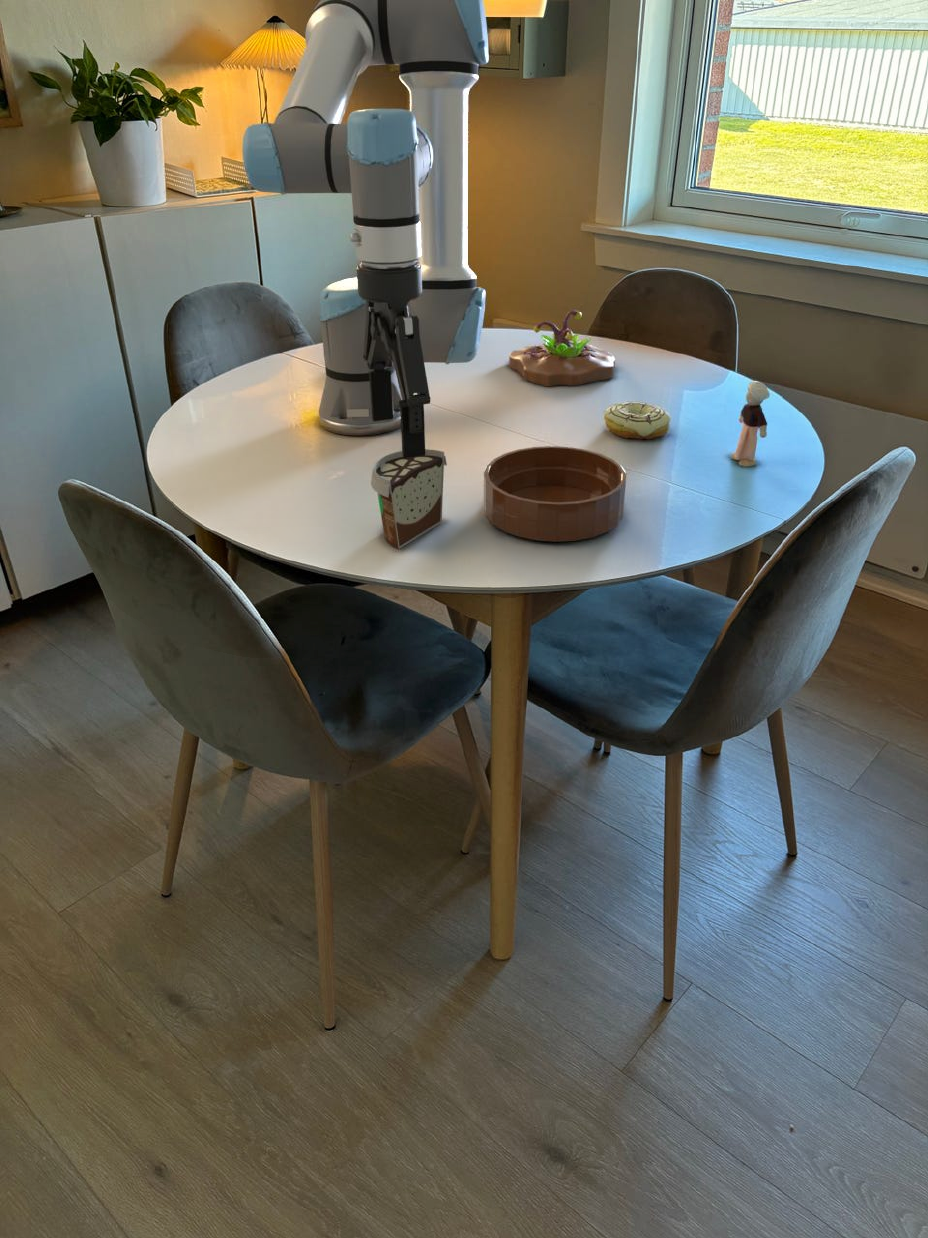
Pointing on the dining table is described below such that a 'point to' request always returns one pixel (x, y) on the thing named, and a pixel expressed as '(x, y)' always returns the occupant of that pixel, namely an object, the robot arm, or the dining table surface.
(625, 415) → the decorated donut
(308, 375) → the dining table surface
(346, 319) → the robot arm
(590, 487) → the bowl
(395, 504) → the food container
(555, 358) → the plant
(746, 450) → the grandmother figurine
